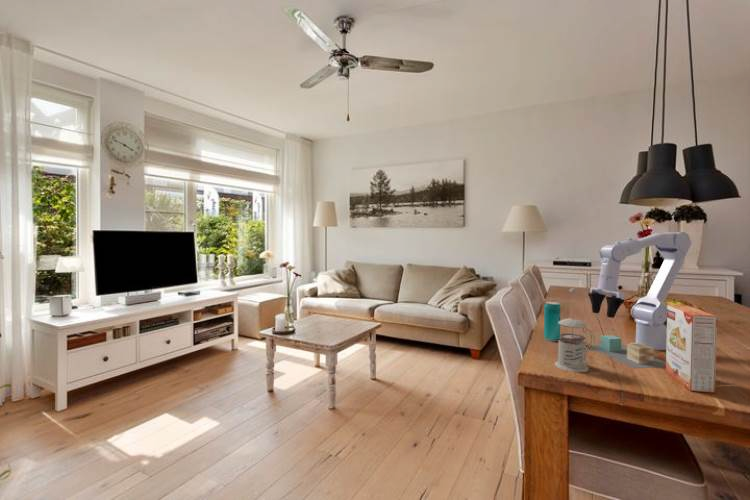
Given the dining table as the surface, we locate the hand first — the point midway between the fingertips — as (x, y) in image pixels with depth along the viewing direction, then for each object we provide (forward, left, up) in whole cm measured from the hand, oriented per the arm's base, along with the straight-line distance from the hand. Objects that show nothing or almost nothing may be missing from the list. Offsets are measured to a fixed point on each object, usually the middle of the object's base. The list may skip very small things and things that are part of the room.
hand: (602, 315), depth 132 cm
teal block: (-3, 0, -13) cm, 13 cm away
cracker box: (-4, +29, -13) cm, 32 cm away
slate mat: (-4, +7, -13) cm, 15 cm away
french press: (+20, +14, -13) cm, 28 cm away
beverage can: (+11, -14, -13) cm, 22 cm away
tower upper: (-4, +12, -10) cm, 16 cm away
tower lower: (-4, +12, -13) cm, 18 cm away
